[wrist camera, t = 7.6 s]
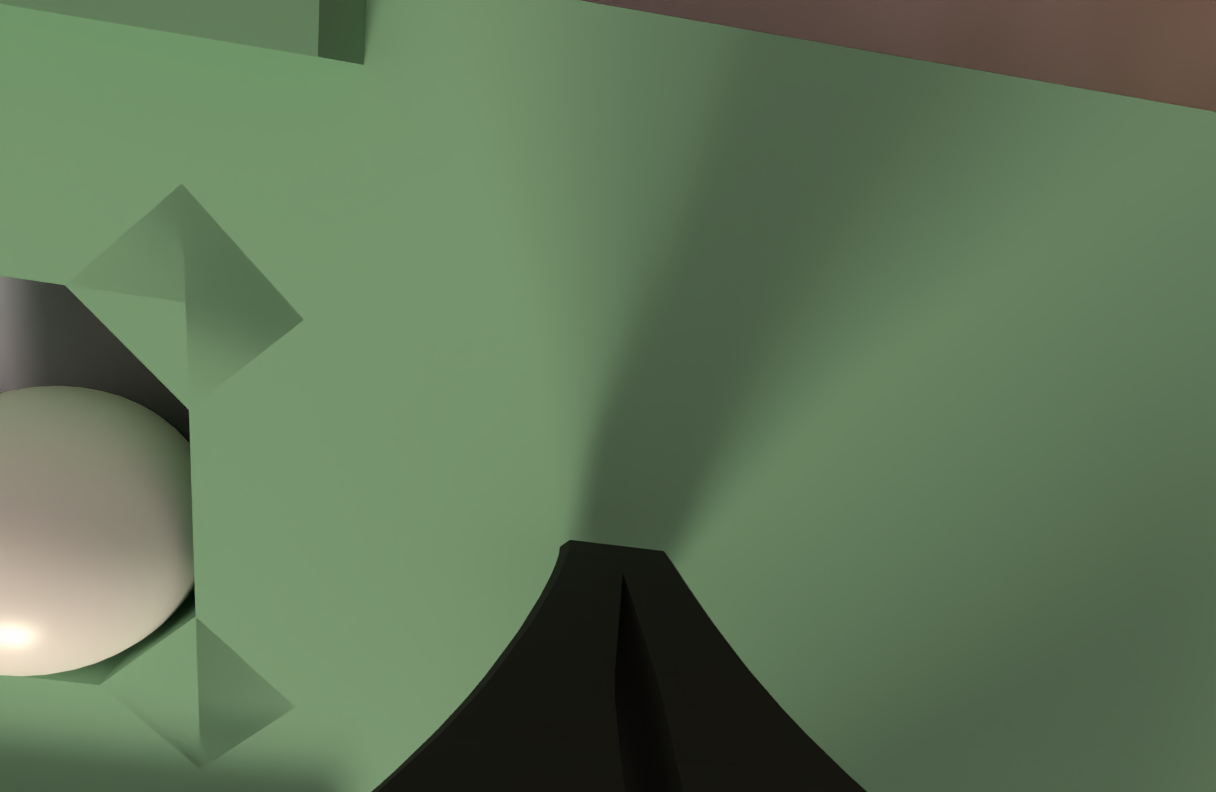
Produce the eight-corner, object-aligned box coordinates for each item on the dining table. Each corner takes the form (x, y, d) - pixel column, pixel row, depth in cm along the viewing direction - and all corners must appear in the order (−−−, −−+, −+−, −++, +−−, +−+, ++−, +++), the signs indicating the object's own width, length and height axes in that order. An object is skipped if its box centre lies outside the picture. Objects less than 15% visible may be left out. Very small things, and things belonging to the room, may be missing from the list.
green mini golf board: (1222, 869, 17) (1437, 1130, 12) (-281, 710, 15) (-639, 957, 10) (1615, 202, 12) (2185, 256, 8) (-545, -173, 10) (-1413, -385, 6)
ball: (197, 712, 12) (-170, 776, 9) (138, 540, 14) (-166, 545, 11) (291, 506, 11) (-92, 500, 8) (211, 357, 13) (-106, 308, 10)
